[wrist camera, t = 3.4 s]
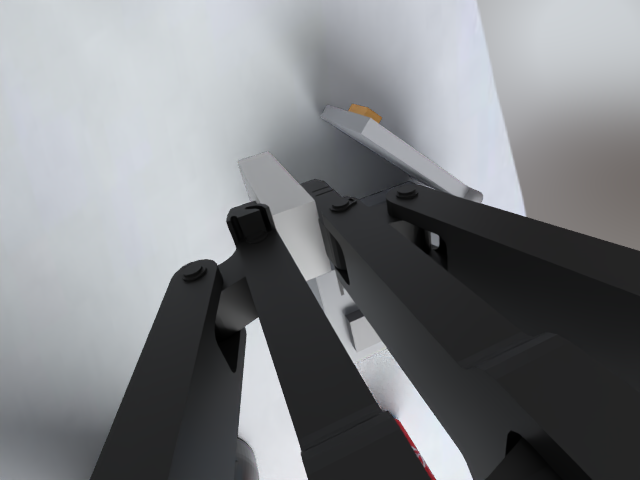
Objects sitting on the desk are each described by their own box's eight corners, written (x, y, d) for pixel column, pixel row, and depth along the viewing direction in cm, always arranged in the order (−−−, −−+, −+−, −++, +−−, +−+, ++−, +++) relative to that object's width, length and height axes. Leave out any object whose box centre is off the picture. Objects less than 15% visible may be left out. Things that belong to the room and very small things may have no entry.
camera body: (307, 309, 34) (345, 378, 27) (282, 227, 30) (319, 283, 22) (436, 254, 37) (502, 303, 30) (431, 172, 32) (508, 206, 25)
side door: (318, 118, 27) (364, 136, 20) (330, 95, 26) (381, 107, 20) (415, 180, 32) (475, 210, 26) (427, 162, 32) (491, 188, 25)
